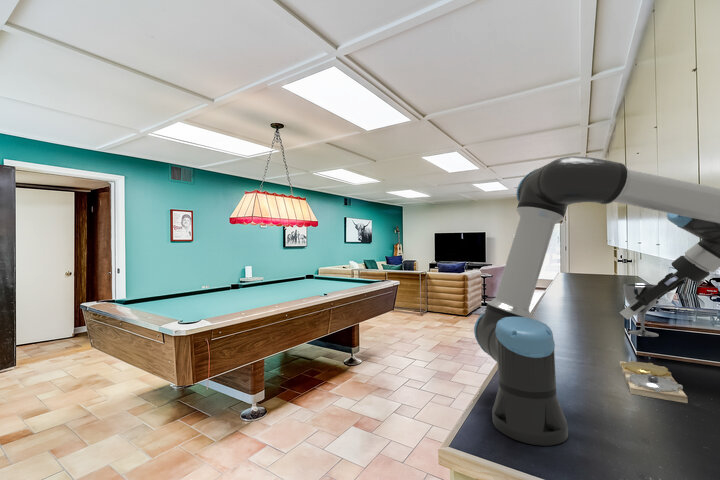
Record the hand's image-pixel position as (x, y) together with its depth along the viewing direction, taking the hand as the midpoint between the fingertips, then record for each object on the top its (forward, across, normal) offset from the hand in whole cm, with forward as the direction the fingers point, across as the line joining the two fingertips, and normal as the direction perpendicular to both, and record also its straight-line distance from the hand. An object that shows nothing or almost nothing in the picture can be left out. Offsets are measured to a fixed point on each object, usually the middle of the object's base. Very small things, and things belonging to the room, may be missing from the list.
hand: (627, 314), depth 102 cm
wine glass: (+2, 0, -6) cm, 7 cm away
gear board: (+9, -6, -17) cm, 20 cm away
